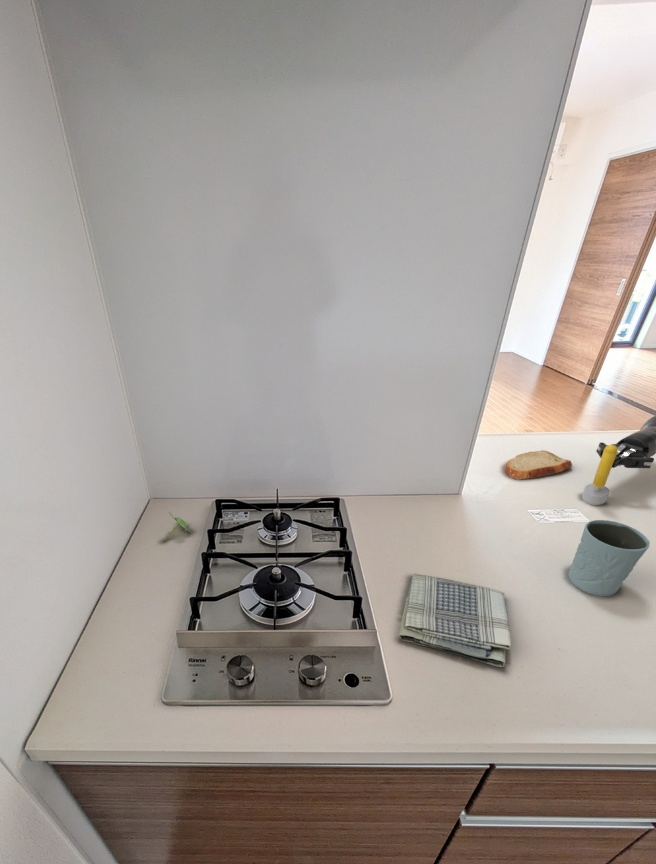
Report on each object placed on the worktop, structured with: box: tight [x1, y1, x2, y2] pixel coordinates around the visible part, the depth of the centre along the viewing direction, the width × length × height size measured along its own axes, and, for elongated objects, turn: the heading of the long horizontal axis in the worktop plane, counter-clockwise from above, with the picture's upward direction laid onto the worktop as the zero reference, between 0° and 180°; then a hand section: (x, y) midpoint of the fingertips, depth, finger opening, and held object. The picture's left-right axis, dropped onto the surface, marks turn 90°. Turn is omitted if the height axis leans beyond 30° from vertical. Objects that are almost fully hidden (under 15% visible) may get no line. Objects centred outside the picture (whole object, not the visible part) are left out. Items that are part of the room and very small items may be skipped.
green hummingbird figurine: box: [162, 511, 192, 543], centre depth 104 cm, size 7×8×7 cm
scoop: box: [581, 444, 618, 506], centre depth 109 cm, size 5×5×17 cm
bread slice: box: [504, 450, 573, 481], centre depth 128 cm, size 18×18×4 cm
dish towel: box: [398, 573, 512, 668], centre depth 80 cm, size 19×18×3 cm
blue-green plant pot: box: [568, 519, 650, 597], centre depth 86 cm, size 10×10×12 cm
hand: (608, 464), depth 108 cm, fingers closed
